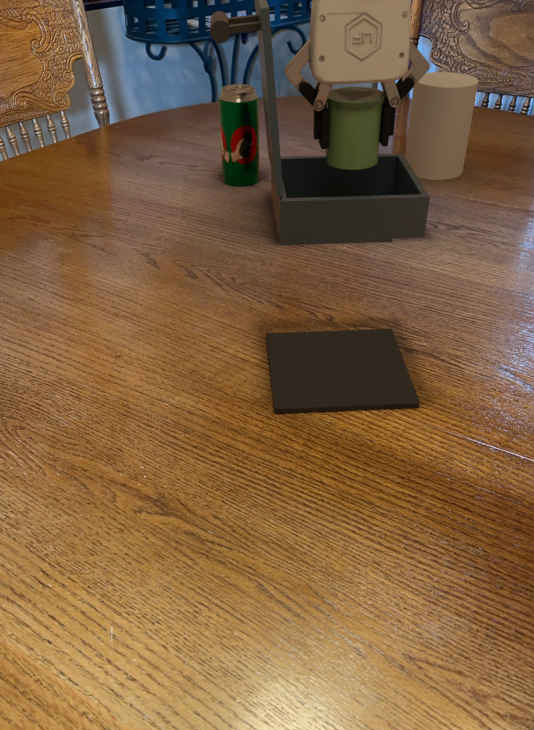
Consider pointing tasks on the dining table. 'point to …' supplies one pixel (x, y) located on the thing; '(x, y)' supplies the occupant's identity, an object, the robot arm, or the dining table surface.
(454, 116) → the beige cylinder
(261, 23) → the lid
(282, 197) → the grey storage tray
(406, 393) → the plate
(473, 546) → the dining table surface
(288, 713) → the dining table surface
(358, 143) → the pot
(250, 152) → the soda can
